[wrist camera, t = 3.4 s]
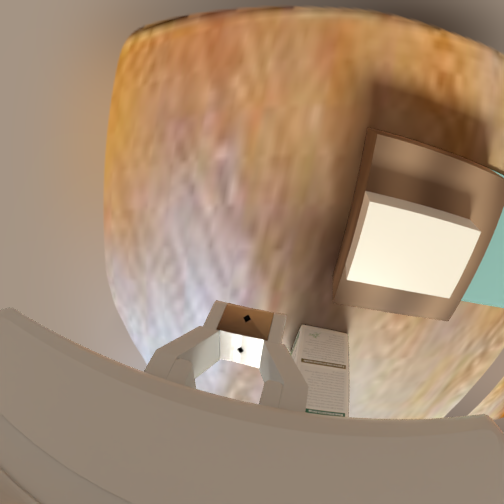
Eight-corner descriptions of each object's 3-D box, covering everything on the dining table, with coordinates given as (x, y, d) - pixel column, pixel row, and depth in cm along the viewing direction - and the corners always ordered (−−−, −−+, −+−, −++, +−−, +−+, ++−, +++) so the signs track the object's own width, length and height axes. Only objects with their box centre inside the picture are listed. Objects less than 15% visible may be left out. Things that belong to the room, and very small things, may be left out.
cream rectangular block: (470, 219, 17) (481, 231, 15) (442, 283, 20) (449, 298, 18) (365, 190, 18) (369, 201, 16) (345, 264, 21) (346, 279, 19)
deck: (488, 168, 17) (511, 182, 14) (438, 294, 25) (448, 321, 22) (367, 127, 19) (377, 134, 16) (332, 275, 27) (332, 302, 23)
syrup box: (300, 322, 31) (278, 445, 19) (350, 332, 30) (347, 453, 18) (289, 353, 34) (267, 460, 22) (334, 361, 33) (325, 469, 21)
